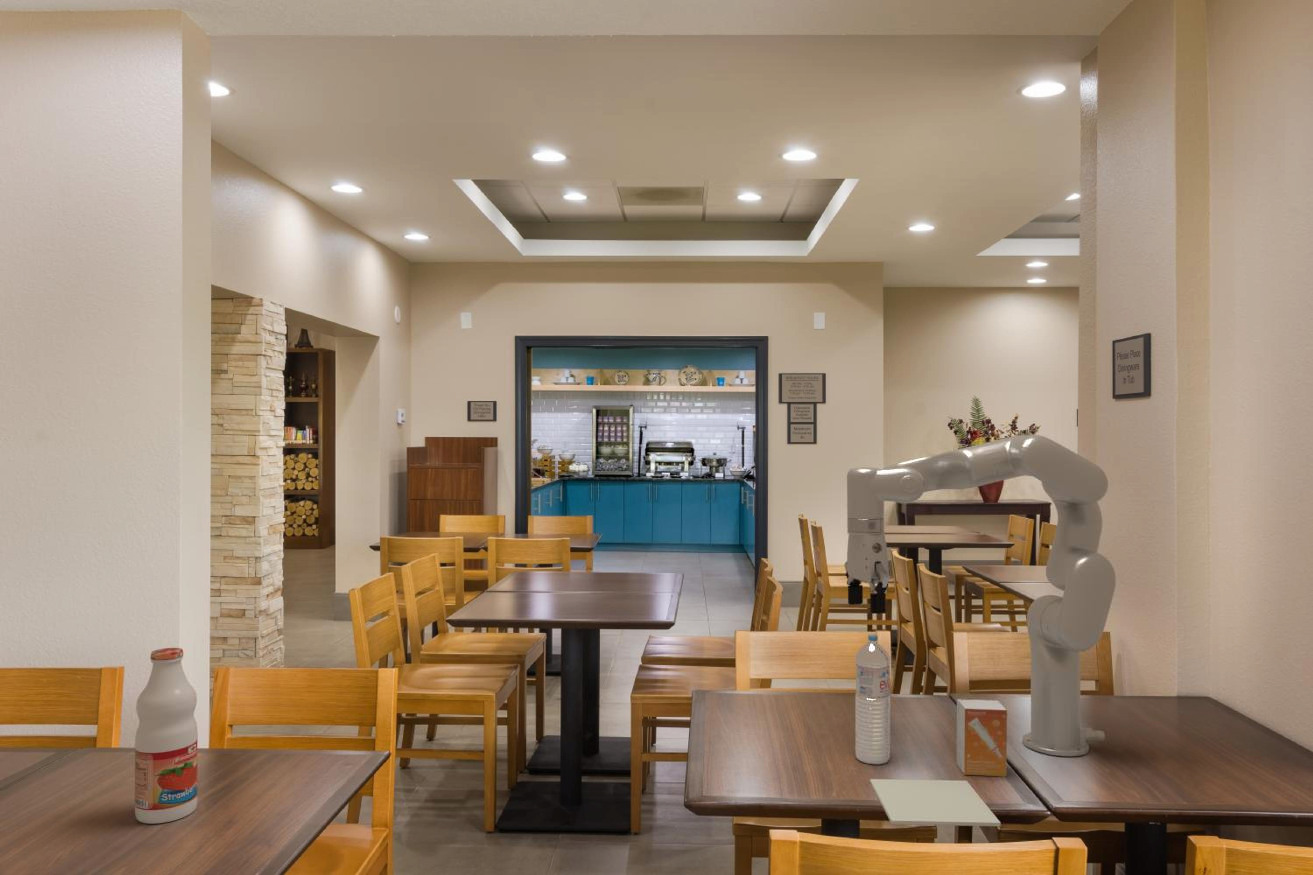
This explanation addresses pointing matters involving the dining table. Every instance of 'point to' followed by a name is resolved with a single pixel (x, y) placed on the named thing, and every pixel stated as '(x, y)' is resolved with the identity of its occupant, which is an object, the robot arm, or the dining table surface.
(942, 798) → the mat
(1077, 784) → the dining table surface
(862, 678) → the water bottle
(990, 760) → the small box
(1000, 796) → the dining table surface
